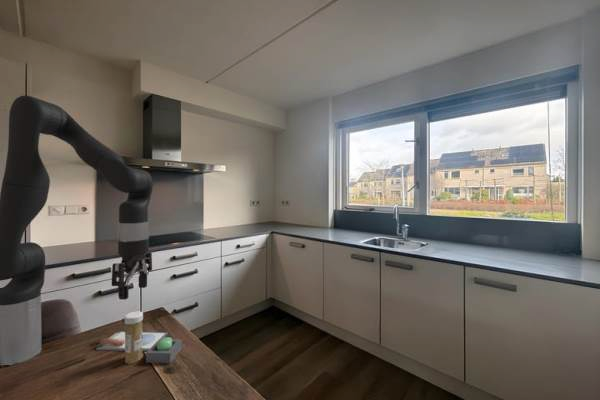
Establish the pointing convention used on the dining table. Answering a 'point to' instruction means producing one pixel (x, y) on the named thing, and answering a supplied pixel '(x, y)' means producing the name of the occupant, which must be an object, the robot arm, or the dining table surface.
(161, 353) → the button box
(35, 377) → the dining table surface
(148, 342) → the tray with round recess
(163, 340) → the button
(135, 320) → the sprinkles bottle
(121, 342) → the pink rounded rod
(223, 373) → the dining table surface
